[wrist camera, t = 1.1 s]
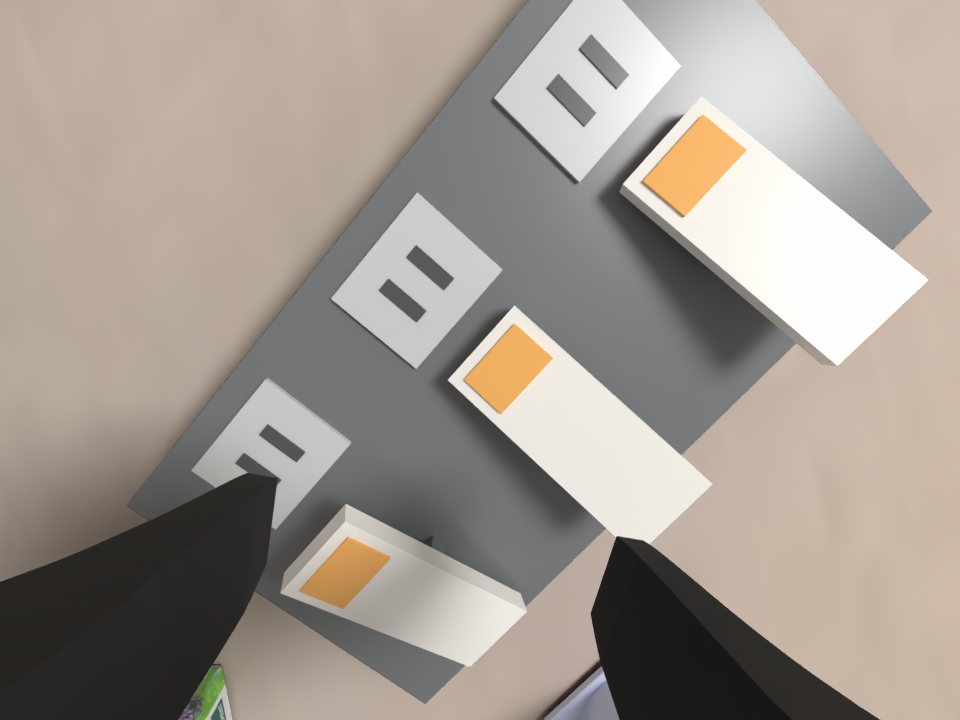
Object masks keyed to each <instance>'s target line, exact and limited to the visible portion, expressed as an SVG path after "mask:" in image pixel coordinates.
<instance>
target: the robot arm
mask: <svg viewBox="0 0 960 720" xmlns="http://www.w3.org/2000/svg"><path fill="white" fill-rule="evenodd" d="M277 481H278V478H274V477H268V476H262V475H257V474H251V473H245V474H243V475H241V476H239V477H236V478H234V479H232V480H230V481H228V482H226V483H224V484H222V485H220V486H218V487H216V488H214V489H212V490H211V491H209V492H207V493H205V494H203V495H201V496H199V497H197V498H195V499H193V500H191V501H189V502H187V503H185V504H183V505H181V506H179V507H177V508H175V509H173V510H171V511H169V512H167V513H165V514H163V515H161V516H159V517H157V518H154V519H152V520H150V521H148V522H146V523H143V524H141V525H139V526H137V527H135V528H132V529H130V530H128V531H126V532H123V533H121V534H119V535H117V536H115V537H112V538H110V539H108V540H106V541H103V542H101V543H99V544H97V545H94V546H92V547H90V548H88V549H85V550H83V551H80V552H78V553H76V554H73V555H71V556H68V557H66V558H63V559H61V560H58V561H56V562H53V563H50V564H48V565H45V566H42V567H40V568H37V569H34V570H32V571H29V572H26V573H24V574H21V575H18V576H15V577H13V578H10V579H7V580H5V581H2V582H0V720H178V719H179V718H180V716H181V715H182V713H183V711H184V710H185V708H186V706H187V705H188V703H189V702H190V700H191V698H192V697H193V695H194V694H195V692H196V690H197V689H198V687H199V685H200V684H201V682H202V681H203V679H204V677H205V676H206V674H207V673H208V671H209V669H210V668H211V666H212V664H213V663H214V661H215V660H216V658H217V656H218V655H219V653H220V652H221V650H222V648H223V647H224V645H225V643H226V642H227V640H228V638H229V637H230V635H231V634H232V632H233V630H234V629H235V627H236V625H237V624H238V622H239V620H240V619H241V617H242V615H243V614H244V612H245V610H246V608H247V605H248V603H249V601H250V599H251V597H252V595H253V593H254V591H255V589H256V587H257V584H258V582H259V580H260V578H261V576H262V573H263V571H264V569H265V567H266V565H267V558H268V550H269V542H270V534H271V527H272V519H273V511H274V504H275V496H276V488H277ZM591 618H592V623H593V628H594V634H595V639H596V644H597V648H598V653H599V657H600V662H601V665H602V666H601V667H600V668H599V669H598V670H597V671H595V672H594V673H593V674H592V675H591V676H590V677H589V678H588V679H587V680H586V681H584V682H583V683H582V684H581V685H580V686H579V687H578V688H577V689H576V690H575V691H573V692H572V693H571V694H570V695H569V696H568V697H567V698H566V699H565V700H564V701H563V702H561V703H560V704H559V705H558V706H557V707H556V708H555V709H554V710H553V711H552V712H550V713H549V714H548V715H547V716H546V717H545V718H544V720H879V719H878V718H876V717H875V716H873V715H872V714H870V713H869V712H867V711H866V710H864V709H862V708H861V707H859V706H858V705H856V704H855V703H854V702H852V701H851V700H849V699H848V698H846V697H845V696H843V695H842V694H841V693H839V692H838V691H836V690H835V689H833V688H832V687H830V686H829V685H828V684H826V683H825V682H823V681H822V680H820V679H819V678H817V677H816V676H815V675H813V674H812V673H810V672H809V671H808V670H806V669H805V668H803V667H802V666H801V665H799V664H798V663H797V662H795V661H794V660H793V659H791V658H790V657H789V656H787V655H786V654H785V653H783V652H782V651H781V650H779V649H778V648H777V647H776V646H774V645H773V644H772V643H770V642H769V641H768V640H766V639H765V638H764V637H763V636H761V635H760V634H759V633H757V632H756V631H755V630H754V629H752V628H751V627H750V626H749V625H747V624H746V623H745V622H744V621H742V620H741V619H740V618H739V617H737V616H736V615H735V614H734V613H733V612H731V611H730V610H729V609H728V608H726V607H725V606H724V605H723V604H722V603H720V602H719V601H718V600H717V599H716V598H714V597H713V596H712V595H711V594H710V593H708V592H707V591H706V590H705V589H704V588H702V587H701V586H700V585H699V584H698V583H697V582H695V581H694V580H693V579H692V578H691V577H689V576H688V575H687V574H686V573H685V572H683V571H682V570H681V569H680V568H679V567H677V566H676V565H675V564H674V563H673V562H671V561H670V560H669V559H668V558H666V557H665V556H664V555H663V554H661V553H660V552H659V551H658V550H656V549H655V548H654V547H652V546H651V545H649V544H648V543H647V542H645V541H644V540H638V539H633V538H627V537H621V536H617V537H616V540H615V543H614V546H613V549H612V552H611V555H610V558H609V561H608V564H607V567H606V570H605V573H604V575H603V578H602V581H601V584H600V587H599V590H598V593H597V596H596V599H595V602H594V605H593V608H592V611H591Z"/></svg>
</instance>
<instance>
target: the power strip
mask: <svg viewBox="0 0 960 720" xmlns="http://www.w3.org/2000/svg"><path fill="white" fill-rule="evenodd" d="M701 96H702V97H703V98H705V99H706V100H707V101H708V102H710V103H711V104H712V105H713V106H715V107H716V108H717V109H718V110H719V111H721V112H722V113H723V114H724V115H726V116H727V117H728V118H729V119H731V120H732V121H733V122H734V123H735V124H737V125H738V126H739V127H740V128H742V129H743V130H744V131H745V132H747V133H748V134H749V135H750V136H752V137H753V138H754V139H755V140H756V141H758V142H759V143H760V144H761V145H763V146H764V147H765V148H766V149H768V150H769V151H770V152H771V153H772V154H774V155H775V156H776V157H777V158H779V159H780V160H781V161H782V162H784V163H785V164H786V165H787V166H789V167H790V168H791V169H792V170H793V171H795V172H796V173H797V174H798V175H800V176H801V177H802V178H803V179H805V180H806V181H807V182H808V183H809V184H811V185H812V186H813V187H814V188H816V189H817V190H818V191H819V192H821V193H822V194H823V195H824V196H826V197H827V198H828V199H829V200H830V201H832V202H833V203H834V204H835V205H837V206H838V207H839V208H840V209H842V210H843V211H844V212H845V213H846V214H848V215H849V216H850V217H851V218H853V219H854V220H855V221H856V222H858V223H859V224H860V225H861V226H862V227H864V228H865V229H866V230H867V231H869V232H870V233H871V234H872V235H874V236H875V237H876V238H877V239H879V240H880V241H881V242H882V243H883V244H885V245H886V246H887V247H888V248H890V249H891V250H893V249H894V248H895V247H896V246H897V245H898V244H899V243H900V242H901V241H902V240H903V239H904V238H905V237H906V236H907V235H908V234H909V233H910V232H911V231H912V230H913V229H914V228H915V227H916V226H917V225H918V224H919V223H920V222H921V221H922V220H923V219H925V218H926V217H927V216H928V215H929V214H930V213H931V212H932V210H931V209H930V208H929V207H928V206H927V204H926V203H925V202H924V201H923V200H922V198H921V197H920V196H919V195H918V194H917V192H916V191H915V190H914V189H913V188H912V186H911V185H910V184H909V183H908V182H907V180H906V179H905V178H904V177H903V176H902V174H901V173H900V172H899V171H898V170H897V168H896V167H895V166H894V165H893V164H892V163H891V161H890V160H889V159H888V158H887V157H886V155H885V154H884V153H883V152H882V151H881V149H880V148H879V147H878V146H877V145H876V143H875V142H874V141H873V140H872V139H871V137H870V136H869V135H868V134H867V133H866V131H865V130H864V129H863V128H862V127H861V125H860V124H859V123H858V122H857V121H856V120H855V118H854V117H853V116H852V115H851V114H850V112H849V111H848V110H847V109H846V108H845V106H844V105H843V104H842V103H841V102H840V100H839V99H838V98H837V97H836V96H835V94H834V93H833V92H832V91H831V90H830V88H829V87H828V86H827V85H826V84H825V82H824V81H823V80H822V79H821V78H820V77H819V75H818V74H817V73H816V72H815V71H814V69H813V68H812V67H811V66H810V65H809V63H808V62H807V61H806V60H805V59H804V57H803V56H802V55H801V54H800V53H799V51H798V50H797V49H796V48H795V47H794V45H793V44H792V43H791V42H790V41H789V39H788V38H787V37H786V36H785V35H784V34H783V32H782V31H781V30H780V29H779V28H778V26H777V25H776V24H775V23H774V22H773V20H772V19H771V18H770V17H769V16H768V14H767V13H766V12H765V11H764V10H763V8H762V7H761V6H760V5H759V4H758V2H757V1H756V0H529V1H528V2H527V3H526V4H525V6H524V7H523V8H522V9H521V11H520V12H519V13H518V14H517V16H516V17H515V18H514V19H513V21H512V22H511V23H510V25H509V26H508V27H507V28H506V30H505V31H504V32H503V33H502V35H501V36H500V37H499V38H498V40H497V41H496V42H495V43H494V45H493V46H492V47H491V48H490V50H489V51H488V52H487V53H486V55H485V56H484V57H483V58H482V60H481V61H480V62H479V63H478V65H477V66H476V67H475V68H474V70H473V71H472V72H471V74H470V75H469V76H468V77H467V79H466V80H465V81H464V82H463V84H462V85H461V86H460V87H459V89H458V90H457V91H456V92H455V94H454V95H453V96H452V97H451V99H450V100H449V101H448V102H447V104H446V105H445V106H444V107H443V109H442V110H441V111H440V112H439V114H438V115H437V116H436V117H435V119H434V120H433V121H432V123H431V124H430V125H429V126H428V128H427V129H426V130H425V131H424V133H423V134H422V135H421V136H420V138H419V139H418V140H417V141H416V143H415V144H414V145H413V146H412V148H411V149H410V150H409V151H408V153H407V154H406V155H405V156H404V158H403V159H402V160H401V161H400V163H399V164H398V165H397V167H396V168H395V169H394V170H393V172H392V173H391V174H390V175H389V177H388V178H387V179H386V180H385V182H384V183H383V184H382V185H381V187H380V188H379V189H378V190H377V192H376V193H375V194H374V195H373V197H372V198H371V199H370V200H369V202H368V203H367V204H366V205H365V207H364V208H363V209H362V210H361V212H360V213H359V214H358V216H357V217H356V218H355V219H354V221H353V222H352V223H351V224H350V226H349V227H348V228H347V229H346V231H345V232H344V233H343V234H342V236H341V237H340V238H339V239H338V241H337V242H336V243H335V244H334V246H333V247H332V248H331V249H330V251H329V252H328V253H327V254H326V256H325V257H324V258H323V259H322V261H321V262H320V263H319V265H318V266H317V267H316V268H315V270H314V271H313V272H312V273H311V275H310V276H309V277H308V278H307V280H306V281H305V282H304V283H303V285H302V286H301V287H300V288H299V290H298V291H297V292H296V293H295V295H294V296H293V297H292V298H291V300H290V301H289V302H288V303H287V305H286V306H285V307H284V308H283V310H282V311H281V312H280V314H279V315H278V316H277V317H276V319H275V320H274V321H273V322H272V324H271V325H270V326H269V327H268V329H267V330H266V331H265V332H264V334H263V335H262V336H261V337H260V339H259V340H258V341H257V342H256V344H255V345H254V346H253V347H252V349H251V350H250V351H249V352H248V354H247V355H246V356H245V357H244V359H243V360H242V361H241V363H240V364H239V365H238V366H237V368H236V369H235V370H234V371H233V373H232V374H231V375H230V376H229V378H228V379H227V380H226V381H225V383H224V384H223V385H222V386H221V388H220V389H219V390H218V391H217V393H216V394H215V395H214V396H213V398H212V399H211V400H210V401H209V403H208V404H207V405H206V407H205V408H204V409H203V410H202V412H201V413H200V414H199V415H198V417H197V418H196V419H195V420H194V422H193V423H192V424H191V425H190V427H189V428H188V429H187V430H186V432H185V433H184V434H183V435H182V437H181V438H180V439H179V440H178V442H177V443H176V444H175V445H174V447H173V448H172V449H171V450H170V452H169V453H168V454H167V456H166V457H165V458H164V459H163V461H162V462H161V463H160V464H159V466H158V467H157V468H156V469H155V471H154V472H153V473H152V474H151V476H150V477H149V478H148V479H147V481H146V482H145V483H144V484H143V486H142V487H141V488H140V489H139V491H138V492H137V493H136V494H135V496H134V497H133V498H132V499H131V501H130V502H129V503H128V505H127V507H129V508H130V509H132V510H133V511H135V512H136V513H138V514H139V515H141V516H143V517H144V518H146V519H147V520H149V521H150V520H152V519H154V518H157V517H159V516H161V515H163V514H165V513H167V512H169V511H171V510H173V509H175V508H177V507H179V506H181V505H183V504H185V503H187V502H189V501H191V500H193V499H195V498H197V497H199V496H201V495H203V494H205V493H207V492H209V491H211V490H212V489H214V488H216V487H218V486H220V485H222V484H224V483H226V482H228V481H230V480H232V479H234V478H236V477H239V476H241V475H243V474H245V473H251V474H257V475H262V476H268V477H274V478H278V481H277V488H276V496H275V504H274V511H273V519H272V527H271V534H270V542H269V550H268V558H267V565H266V567H265V569H264V571H263V573H262V576H261V578H260V580H259V582H258V584H257V587H256V589H255V591H256V592H257V593H259V594H260V595H262V596H263V597H265V598H266V599H268V600H269V601H271V602H272V603H274V604H275V605H277V606H278V607H280V608H281V609H283V610H284V611H286V612H287V613H289V614H290V615H292V616H293V617H295V618H296V619H298V620H299V621H301V622H302V623H304V624H305V625H307V626H308V627H310V628H311V629H313V630H314V631H316V632H317V633H319V634H320V635H322V636H323V637H325V638H326V639H328V640H329V641H331V642H332V643H334V644H335V645H337V646H338V647H340V648H341V649H343V650H344V651H346V652H347V653H349V654H350V655H352V656H353V657H355V658H357V659H358V660H360V661H361V662H363V663H364V664H366V665H367V666H369V667H370V668H372V669H373V670H375V671H376V672H378V673H379V674H381V675H382V676H384V677H385V678H387V679H388V680H390V681H391V682H393V683H394V684H396V685H397V686H399V687H400V688H402V689H403V690H405V691H406V692H408V693H409V694H411V695H412V696H414V697H415V698H417V699H418V700H420V701H421V702H423V703H424V704H426V703H427V702H428V701H429V700H430V699H431V698H432V697H433V696H434V695H435V694H436V693H437V692H438V691H439V690H440V689H441V688H442V687H443V686H444V685H445V684H446V683H447V682H448V681H449V680H450V679H451V678H452V677H453V676H455V675H456V674H457V673H458V672H459V671H460V670H461V669H462V668H463V667H464V666H465V665H464V664H461V663H459V662H456V661H453V660H451V659H448V658H446V657H443V656H441V655H438V654H435V653H433V652H430V651H428V650H425V649H423V648H420V647H417V646H415V645H412V644H410V643H407V642H405V641H402V640H399V639H397V638H394V637H392V636H389V635H387V634H384V633H381V632H379V631H376V630H374V629H371V628H369V627H366V626H363V625H361V624H358V623H356V622H353V621H351V620H348V619H345V618H343V617H340V616H338V615H335V614H333V613H330V612H327V611H325V610H322V609H320V608H317V607H315V606H312V605H309V604H307V603H304V602H302V601H299V600H297V599H294V598H291V597H289V596H286V595H284V594H281V593H280V592H281V587H282V582H283V577H284V572H285V571H286V570H287V569H288V568H289V567H290V566H291V564H292V563H293V562H294V561H295V560H296V559H297V558H298V557H299V556H300V554H301V553H302V552H303V551H304V550H305V549H306V548H307V547H308V545H309V544H310V543H311V542H312V541H313V540H314V539H315V538H316V537H317V535H318V534H319V533H320V532H321V531H322V530H323V529H324V528H325V527H326V525H327V524H328V523H329V522H330V521H331V520H332V519H333V518H334V516H335V515H336V514H337V513H338V512H339V511H340V510H341V509H342V508H343V506H344V505H345V504H347V505H349V506H351V507H353V508H355V509H357V510H359V511H361V512H363V513H365V514H367V515H369V516H371V517H373V518H375V519H377V520H379V521H380V522H382V523H384V524H386V525H388V526H390V527H392V528H394V529H396V530H398V531H400V532H402V533H404V534H406V535H408V536H410V537H412V538H414V539H416V540H418V541H419V542H421V543H423V544H425V545H427V546H429V547H431V548H433V549H435V550H437V551H439V552H441V553H443V554H445V555H447V556H449V557H451V558H453V559H455V560H457V561H458V562H460V563H462V564H464V565H466V566H468V567H470V568H472V569H474V570H476V571H478V572H480V573H482V574H484V575H486V576H488V577H490V578H492V579H494V580H496V581H497V582H499V583H501V584H503V585H505V586H507V587H509V588H511V589H513V590H515V591H517V592H519V593H521V596H522V599H523V602H524V604H525V606H527V605H528V604H529V603H530V602H531V601H532V600H533V599H534V598H535V597H536V596H537V595H538V594H539V593H540V592H541V591H542V590H543V589H544V588H545V587H546V586H547V585H548V584H549V583H550V582H551V581H552V580H553V579H554V578H555V577H556V576H557V575H558V574H559V573H560V572H561V571H563V570H564V569H565V568H566V567H567V566H568V565H569V564H570V563H571V562H572V561H573V560H574V559H575V558H576V557H577V556H578V555H579V554H580V553H581V552H582V551H583V550H584V549H585V548H586V547H587V546H588V545H589V544H590V543H591V542H592V541H593V540H594V539H595V538H596V537H597V536H599V535H600V534H601V533H602V532H603V531H604V530H605V529H606V528H605V527H604V526H603V525H602V524H601V523H600V522H599V521H598V520H597V519H596V518H595V517H594V516H593V515H592V514H590V513H589V512H588V511H587V510H586V509H585V508H584V507H583V506H582V505H581V504H580V503H579V502H578V501H577V500H575V499H574V498H573V497H572V496H571V495H570V494H569V493H568V492H567V491H566V490H565V489H564V488H563V487H562V486H561V485H559V484H558V483H557V482H556V481H555V480H554V479H553V478H552V477H551V476H550V475H549V474H548V473H547V472H546V471H544V470H543V469H542V468H541V467H540V466H539V465H538V464H537V463H536V462H535V461H534V460H533V459H532V458H531V457H529V456H528V455H527V454H526V453H525V452H524V451H523V450H522V449H521V448H520V447H519V446H518V445H517V444H516V443H515V442H513V441H512V440H511V439H510V438H509V437H508V436H507V435H506V434H505V433H504V432H503V431H502V430H501V429H500V428H498V427H497V426H496V425H495V424H494V423H493V422H492V421H491V420H490V419H489V418H488V417H487V416H486V415H485V414H483V413H482V412H481V411H480V410H479V409H478V408H477V407H476V406H475V405H474V404H473V403H472V402H471V401H470V400H469V399H467V398H466V397H465V396H464V395H463V394H462V393H461V392H460V391H459V390H458V389H457V388H456V387H455V386H454V385H452V384H451V383H450V382H449V381H448V379H449V378H450V377H451V376H452V375H453V374H454V373H455V371H456V370H457V369H458V368H459V367H460V366H461V365H462V364H463V362H464V361H465V360H466V359H467V358H468V357H469V356H470V355H471V354H472V352H473V351H474V350H475V349H476V348H477V347H478V346H479V345H480V343H481V342H482V341H483V340H484V339H485V338H486V337H487V336H488V334H489V333H490V332H491V331H492V330H493V329H494V328H495V327H496V326H497V324H498V323H499V322H500V321H501V320H502V319H503V318H504V317H505V315H506V314H507V313H508V312H509V311H510V310H511V309H512V308H513V306H516V307H517V308H518V309H519V310H520V311H521V312H523V313H524V314H525V315H526V316H527V317H528V318H529V319H530V320H531V321H533V322H534V323H535V324H536V325H537V326H538V327H539V328H540V329H541V330H543V331H544V332H545V333H546V334H547V335H548V336H549V337H550V338H551V339H553V340H554V341H555V342H556V343H557V344H558V345H559V346H560V347H561V348H563V349H564V350H565V351H566V352H567V353H568V354H569V355H570V356H571V357H573V358H574V359H575V360H576V361H577V362H578V363H579V364H580V365H581V366H582V367H584V368H585V369H586V370H587V371H588V372H589V373H590V374H591V375H592V376H594V377H595V378H596V379H597V380H598V381H599V382H600V383H601V384H602V385H604V386H605V387H606V388H607V389H608V390H609V391H610V392H611V393H612V394H614V395H615V396H616V397H617V398H618V399H619V400H620V401H621V402H622V403H624V404H625V405H626V406H627V407H628V408H629V409H630V410H631V411H632V412H634V413H635V414H636V415H637V416H638V417H639V418H640V419H641V420H642V421H644V422H645V423H646V424H647V425H648V426H649V427H650V428H651V429H652V430H654V431H655V432H656V433H657V434H658V435H659V436H660V437H661V438H662V439H664V440H665V441H666V442H667V443H668V444H669V445H670V446H671V447H672V448H674V449H675V450H676V451H677V452H678V453H679V454H680V455H682V454H683V453H684V452H685V451H686V450H687V449H688V448H689V447H690V446H691V445H692V444H693V443H694V442H695V441H696V440H697V439H698V438H699V437H700V436H701V435H702V434H703V433H704V432H705V431H706V430H708V429H709V428H710V427H711V426H712V425H713V424H714V423H715V422H716V421H717V420H718V419H719V418H720V417H721V416H722V415H723V414H724V413H725V412H726V411H727V410H728V409H729V408H730V407H731V406H732V405H733V404H734V403H735V402H736V401H737V400H738V399H739V398H740V397H741V396H742V395H744V394H745V393H746V392H747V391H748V390H749V389H750V388H751V387H752V386H753V385H754V384H755V383H756V382H757V381H758V380H759V379H760V378H761V377H762V376H763V375H764V374H765V373H766V372H767V371H768V370H769V369H770V368H771V367H772V366H773V365H774V364H775V363H776V362H777V361H778V360H780V359H781V358H782V357H783V356H784V355H785V354H786V353H787V352H788V351H789V350H790V349H791V348H792V347H793V346H794V345H795V344H796V342H795V341H794V340H792V339H791V338H790V337H789V336H788V335H786V334H785V333H784V332H783V331H782V330H781V329H779V328H778V327H777V326H776V325H775V324H774V323H772V322H771V321H770V320H769V319H768V318H766V317H765V316H764V315H763V314H762V313H761V312H759V311H758V310H757V309H756V308H755V307H754V306H752V305H751V304H750V303H749V302H748V301H746V300H745V299H744V298H743V297H742V296H741V295H739V294H738V293H737V292H736V291H735V290H734V289H732V288H731V287H730V286H729V285H728V284H726V283H725V282H724V281H723V280H722V279H721V278H719V277H718V276H717V275H716V274H715V273H714V272H712V271H711V270H710V269H709V268H708V267H706V266H705V265H704V264H703V263H702V262H701V261H699V260H698V259H697V258H696V257H695V256H694V255H692V254H691V253H690V252H689V251H688V250H687V249H685V248H684V247H683V246H682V245H681V244H679V243H678V242H677V241H676V240H675V239H674V238H672V237H671V236H670V235H669V234H668V233H667V232H665V231H664V230H663V229H662V228H661V227H659V226H658V225H657V224H656V223H655V222H654V221H652V220H651V219H650V218H649V217H648V216H647V215H645V214H644V213H643V212H642V211H641V210H639V209H638V208H637V207H636V206H635V205H634V204H632V203H631V202H630V201H629V200H628V199H627V198H625V197H624V196H623V195H622V194H621V193H619V192H620V189H621V187H622V185H623V183H624V182H625V181H626V180H627V179H628V178H629V177H630V175H631V174H632V173H633V172H634V171H635V170H636V169H637V168H638V166H639V165H640V164H641V163H642V162H643V161H644V160H645V159H646V157H647V156H648V155H649V154H650V153H651V152H652V151H653V150H654V149H655V147H656V146H657V145H658V144H659V143H660V142H661V141H662V140H663V138H664V137H665V136H666V135H667V134H668V133H669V132H670V131H671V129H672V128H673V127H674V126H675V125H676V124H677V123H678V122H679V121H680V119H681V118H682V117H683V116H684V115H685V114H686V113H687V112H688V110H689V109H690V108H691V107H692V106H693V105H694V104H695V103H696V101H697V100H698V99H699V98H700V97H701Z"/></svg>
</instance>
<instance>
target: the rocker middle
mask: <svg viewBox="0 0 960 720" xmlns="http://www.w3.org/2000/svg"><path fill="white" fill-rule="evenodd" d="M448 381H449V382H450V383H451V384H452V385H454V386H455V387H456V388H457V389H458V390H459V391H460V392H461V393H462V394H463V395H464V396H465V397H466V398H467V399H469V400H470V401H471V402H472V403H473V404H474V405H475V406H476V407H477V408H478V409H479V410H480V411H481V412H482V413H483V414H485V415H486V416H487V417H488V418H489V419H490V420H491V421H492V422H493V423H494V424H495V425H496V426H497V427H498V428H500V429H501V430H502V431H503V432H504V433H505V434H506V435H507V436H508V437H509V438H510V439H511V440H512V441H513V442H515V443H516V444H517V445H518V446H519V447H520V448H521V449H522V450H523V451H524V452H525V453H526V454H527V455H528V456H529V457H531V458H532V459H533V460H534V461H535V462H536V463H537V464H538V465H539V466H540V467H541V468H542V469H543V470H544V471H546V472H547V473H548V474H549V475H550V476H551V477H552V478H553V479H554V480H555V481H556V482H557V483H558V484H559V485H561V486H562V487H563V488H564V489H565V490H566V491H567V492H568V493H569V494H570V495H571V496H572V497H573V498H574V499H575V500H577V501H578V502H579V503H580V504H581V505H582V506H583V507H584V508H585V509H586V510H587V511H588V512H589V513H590V514H592V515H593V516H594V517H595V518H596V519H597V520H598V521H599V522H600V523H601V524H602V525H603V526H604V527H605V528H607V529H608V530H609V531H610V532H611V533H612V534H613V535H614V536H615V537H617V536H621V537H627V538H633V539H638V540H644V541H645V542H647V543H648V544H650V543H651V542H652V541H653V540H654V539H655V538H656V537H657V536H658V535H659V534H660V533H661V532H662V531H664V530H665V529H666V528H667V527H668V526H669V525H670V524H671V523H672V522H673V521H674V520H675V519H676V518H677V517H678V516H679V515H680V514H681V513H683V512H684V511H685V510H686V509H687V508H688V507H689V506H690V505H691V504H692V503H693V502H694V501H695V500H696V499H697V498H698V497H699V496H701V495H702V494H703V493H704V492H705V491H706V490H707V489H708V488H709V487H710V486H711V485H712V483H711V482H710V481H709V480H708V479H707V478H706V477H705V476H704V475H702V474H701V473H700V472H699V471H698V470H697V469H696V468H695V467H694V466H692V465H691V464H690V463H689V462H688V461H687V460H686V459H685V458H684V457H682V456H681V455H680V454H679V453H678V452H677V451H676V450H675V449H674V448H672V447H671V446H670V445H669V444H668V443H667V442H666V441H665V440H664V439H662V438H661V437H660V436H659V435H658V434H657V433H656V432H655V431H654V430H652V429H651V428H650V427H649V426H648V425H647V424H646V423H645V422H644V421H642V420H641V419H640V418H639V417H638V416H637V415H636V414H635V413H634V412H632V411H631V410H630V409H629V408H628V407H627V406H626V405H625V404H624V403H622V402H621V401H620V400H619V399H618V398H617V397H616V396H615V395H614V394H612V393H611V392H610V391H609V390H608V389H607V388H606V387H605V386H604V385H602V384H601V383H600V382H599V381H598V380H597V379H596V378H595V377H594V376H592V375H591V374H590V373H589V372H588V371H587V370H586V369H585V368H584V367H582V366H581V365H580V364H579V363H578V362H577V361H576V360H575V359H574V358H573V357H571V356H570V355H569V354H568V353H567V352H566V351H565V350H564V349H563V348H561V347H560V346H559V345H558V344H557V343H556V342H555V341H554V340H553V339H551V338H550V337H549V336H548V335H547V334H546V333H545V332H544V331H543V330H541V329H540V328H539V327H538V326H537V325H536V324H535V323H534V322H533V321H531V320H530V319H529V318H528V317H527V316H526V315H525V314H524V313H523V312H521V311H520V310H519V309H518V308H517V307H516V306H513V308H512V309H511V310H510V311H509V312H508V313H507V314H506V315H505V317H504V318H503V319H502V320H501V321H500V322H499V323H498V324H497V326H496V327H495V328H494V329H493V330H492V331H491V332H490V333H489V334H488V336H487V337H486V338H485V339H484V340H483V341H482V342H481V343H480V345H479V346H478V347H477V348H476V349H475V350H474V351H473V352H472V354H471V355H470V356H469V357H468V358H467V359H466V360H465V361H464V362H463V364H462V365H461V366H460V367H459V368H458V369H457V370H456V371H455V373H454V374H453V375H452V376H451V377H450V378H449V379H448Z"/></svg>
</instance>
